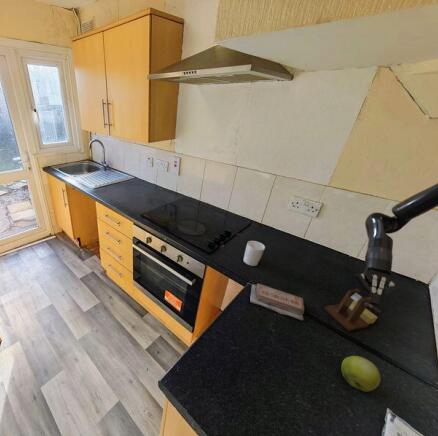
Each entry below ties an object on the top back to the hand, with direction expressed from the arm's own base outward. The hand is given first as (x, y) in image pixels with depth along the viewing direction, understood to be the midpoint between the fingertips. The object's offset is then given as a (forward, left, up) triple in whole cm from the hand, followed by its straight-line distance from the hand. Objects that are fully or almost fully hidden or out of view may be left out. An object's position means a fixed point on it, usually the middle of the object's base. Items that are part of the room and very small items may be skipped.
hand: (373, 303), depth 85 cm
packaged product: (+33, -11, -5) cm, 35 cm away
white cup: (+26, -36, -5) cm, 45 cm away
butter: (+4, 0, -5) cm, 7 cm away
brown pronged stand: (+11, 0, -5) cm, 12 cm away
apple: (+31, +18, -5) cm, 36 cm away
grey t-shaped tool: (+6, 0, +1) cm, 6 cm away
